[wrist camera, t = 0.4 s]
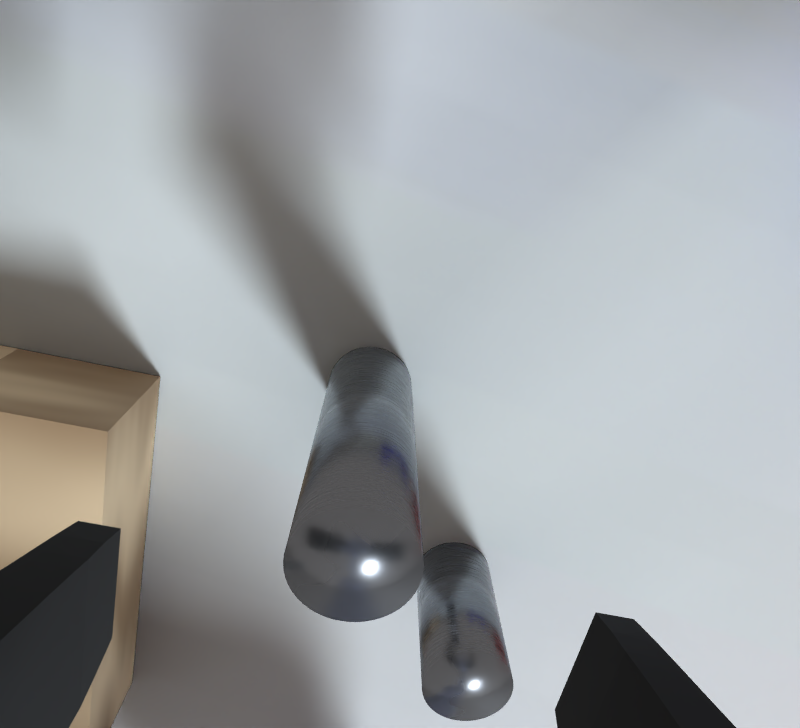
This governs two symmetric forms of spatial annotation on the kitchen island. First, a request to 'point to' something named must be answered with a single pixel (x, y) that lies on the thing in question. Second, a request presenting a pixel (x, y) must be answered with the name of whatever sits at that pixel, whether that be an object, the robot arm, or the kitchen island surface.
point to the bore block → (79, 482)
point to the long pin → (359, 496)
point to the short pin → (461, 635)
